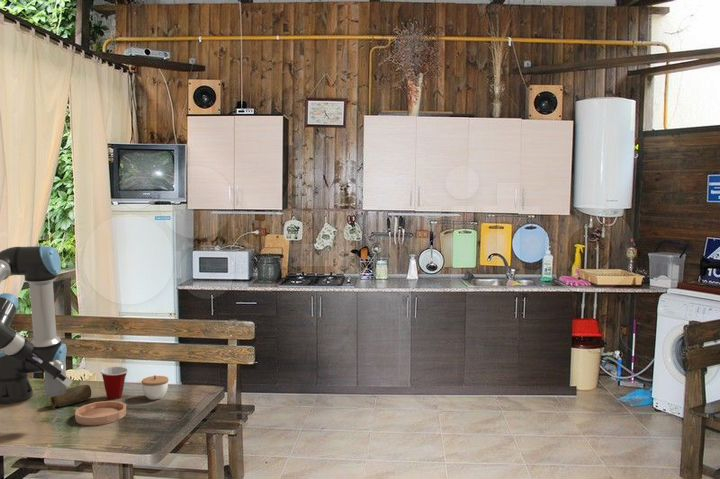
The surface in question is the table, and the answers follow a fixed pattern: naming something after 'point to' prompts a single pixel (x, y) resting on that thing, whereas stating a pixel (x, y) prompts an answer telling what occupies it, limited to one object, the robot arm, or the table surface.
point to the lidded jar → (155, 386)
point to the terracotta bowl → (100, 413)
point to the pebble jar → (55, 380)
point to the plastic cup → (114, 381)
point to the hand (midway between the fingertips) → (65, 381)
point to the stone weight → (72, 396)
